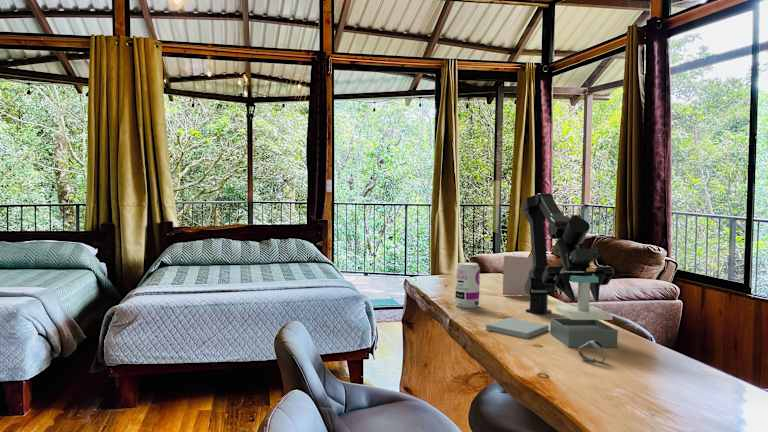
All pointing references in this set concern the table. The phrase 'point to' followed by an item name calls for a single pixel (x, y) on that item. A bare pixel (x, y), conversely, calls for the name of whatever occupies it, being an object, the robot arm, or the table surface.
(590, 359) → the wristwatch
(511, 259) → the greeting card
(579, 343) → the housing
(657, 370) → the table surface
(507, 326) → the pad
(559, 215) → the robot arm
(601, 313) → the cover
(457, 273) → the supplement can
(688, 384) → the table surface
